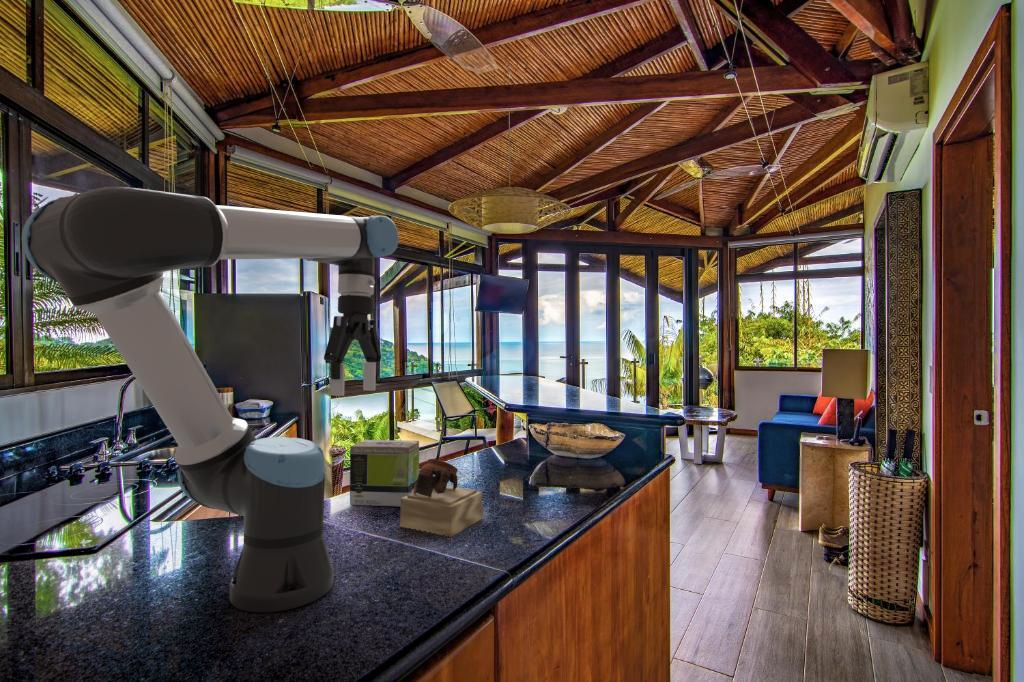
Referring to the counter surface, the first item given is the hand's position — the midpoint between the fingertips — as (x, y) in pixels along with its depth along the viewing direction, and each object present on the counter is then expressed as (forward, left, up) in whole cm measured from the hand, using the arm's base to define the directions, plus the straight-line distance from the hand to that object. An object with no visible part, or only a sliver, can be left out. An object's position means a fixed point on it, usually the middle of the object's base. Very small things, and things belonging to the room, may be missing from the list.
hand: (354, 392), depth 114 cm
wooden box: (+6, -18, -29) cm, 35 cm away
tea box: (+18, +1, -29) cm, 34 cm away
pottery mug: (+6, -17, -22) cm, 29 cm away
